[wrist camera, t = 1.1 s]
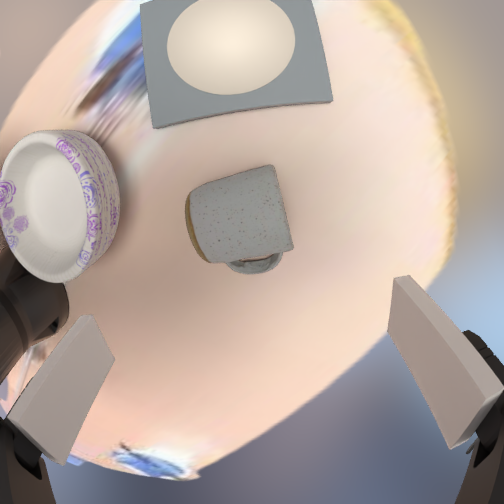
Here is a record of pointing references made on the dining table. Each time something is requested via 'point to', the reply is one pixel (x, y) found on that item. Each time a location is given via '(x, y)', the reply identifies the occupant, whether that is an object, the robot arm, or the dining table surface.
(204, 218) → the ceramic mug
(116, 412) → the dining table surface
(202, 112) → the board
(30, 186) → the paper bowls
